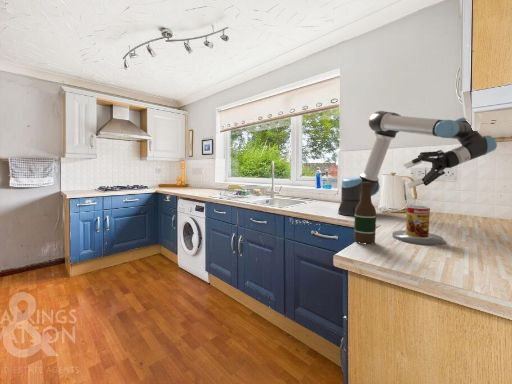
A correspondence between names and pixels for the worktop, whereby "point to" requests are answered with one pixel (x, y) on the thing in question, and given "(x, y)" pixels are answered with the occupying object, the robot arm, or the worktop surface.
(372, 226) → the beer bottle
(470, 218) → the worktop surface
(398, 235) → the plate
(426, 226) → the canned food
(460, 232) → the worktop surface
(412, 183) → the robot arm
